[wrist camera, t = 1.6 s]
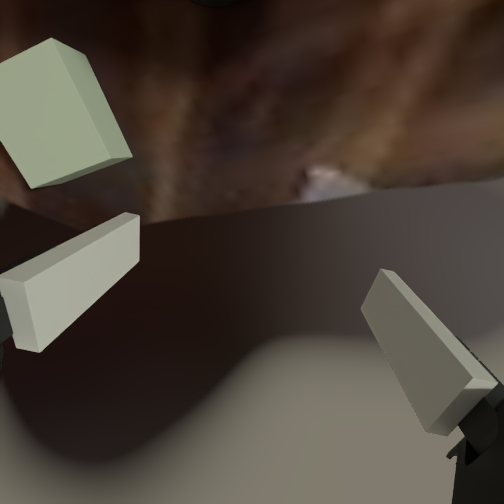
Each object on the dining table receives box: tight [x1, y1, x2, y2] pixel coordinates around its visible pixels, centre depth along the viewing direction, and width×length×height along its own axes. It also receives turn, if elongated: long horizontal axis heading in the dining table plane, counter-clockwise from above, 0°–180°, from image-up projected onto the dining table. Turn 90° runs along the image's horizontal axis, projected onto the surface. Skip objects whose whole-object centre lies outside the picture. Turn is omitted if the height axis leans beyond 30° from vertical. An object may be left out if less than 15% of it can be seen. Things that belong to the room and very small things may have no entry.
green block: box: [0, 38, 133, 189], centre depth 30 cm, size 12×12×5 cm
